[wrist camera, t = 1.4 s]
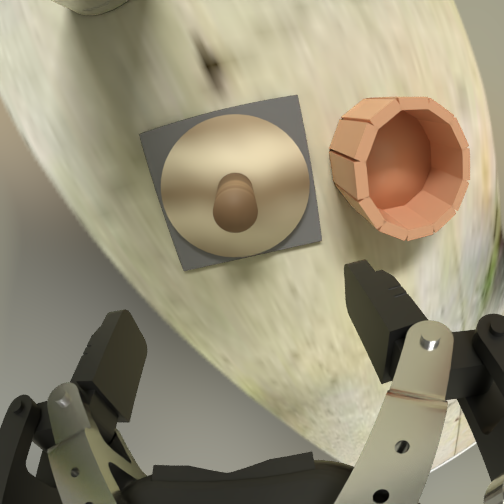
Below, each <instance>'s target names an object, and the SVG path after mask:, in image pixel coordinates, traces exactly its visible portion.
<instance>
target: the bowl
mask: <svg viewBox="0 0 504 504" xmlns="http://www.w3.org/2000/svg"><path fill="white" fill-rule="evenodd" d="M342 118H343V120H341V119H340V120H339V123H338V125H337V128H336V131H335V134H334V136H333V139H332V142H331V145H330V147H329V148H330V149H333V150H334V151H329V155H330V161H331V168H332V175H333V181H334V182H335V185H336V187H337V188H338V189H339V190H340V192H341V193H342V194H343V196H344V197H345V198H346V200H347V201H348V202H349V204H350V205H351V206H352V207H353V208H354V209H355V210H356V211H357V212H359V213H360V214H361V215H362V216H363V217H364V218H365V219H366V220H367V221H368V222H369V223H371V224H372V225H373V226H374V227H375V228H376V229H377V230H378V231H380V232H382V233H385V234H388V235H390V236H393V237H396V238H398V239H401V240H404V241H405V239H406V240H407V241H410V240H414V239H418V238H421V237H425V236H429V235H433V231H434V232H435V233H436V232H437V231H438V230H439V229H440V228H442V227H443V226H444V225H445V224H446V223H447V222H448V221H449V220H450V219H451V218H452V217H453V216H454V215H455V214H456V212H455V210H457V211H458V209H459V207H460V205H461V202H462V200H463V197H464V195H465V192H466V190H467V187H468V185H469V183H468V182H467V181H466V180H470V149H469V148H467V147H468V146H469V145H468V142H467V140H466V138H465V136H464V133H463V131H462V129H461V127H460V125H459V123H458V121H457V119H456V118H454V115H453V114H452V113H450V112H449V111H448V110H446V109H445V108H444V107H442V106H441V105H440V104H438V103H437V102H435V101H434V100H433V99H431V98H428V97H379V98H366V99H363V100H362V101H361V102H359V103H358V104H357V105H356V106H354V107H353V108H352V109H351V110H349V111H348V112H347V113H346V114H344V115H343V116H342ZM454 209H455V210H454Z"/></svg>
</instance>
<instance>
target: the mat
mask: <svg viewBox="0 0 504 504" xmlns="http://www.w3.org/2000/svg"><path fill="white" fill-rule="evenodd" d="M230 114H241V115H250V116H254V117H258V118H261V119H263V120H266V121H268V122H270V123H272V124H274V125H276V126H277V127H279V128H280V129H281V130H283V131H284V132H285V133H286V134H287V135H288V136H289V137H290V138H291V139H292V140H293V141H294V142H295V144H296V145H297V146H298V148H299V149H300V151H301V153H302V155H303V157H304V159H305V162H306V165H307V169H308V173H309V181H310V188H309V197H308V202H307V206H306V209H305V211H304V214H303V216H302V218H301V220H300V221H299V223H298V224H297V226H296V227H295V228H294V230H293V231H292V232H291V233H290V234H289V235H288V236H287V237H286V238H285V239H284V240H283V241H281V242H280V243H279V244H277V245H276V246H274V247H272V248H270V249H268V250H266V251H264V252H261V253H258V254H255V255H260V254H264V253H269V252H273V251H278V250H282V249H287V248H291V247H296V246H300V245H304V244H309V243H313V242H318V241H322V237H321V229H320V221H319V214H318V207H317V200H316V193H315V186H314V180H313V174H312V168H311V162H310V156H309V151H308V145H307V140H306V134H305V129H304V124H303V119H302V114H301V109H300V104H299V100H298V95H293V96H287V97H281V98H275V99H269V100H264V101H259V102H254V103H249V104H244V105H239V106H235V107H231V108H226V109H222V110H218V111H214V112H210V113H206V114H203V115H199V116H195V117H192V118H188V119H185V120H181V121H178V122H175V123H171V124H168V125H165V126H162V127H159V128H156V129H153V130H150V131H147V132H144V133H141V134H139V136H140V140H141V143H142V147H143V150H144V153H145V157H146V160H147V164H148V167H149V170H150V174H151V177H152V180H153V183H154V186H155V190H156V193H157V196H158V199H159V202H160V205H161V208H162V211H163V214H164V217H165V220H166V223H167V226H168V229H169V231H170V234H171V237H172V240H173V243H174V246H175V248H176V251H177V254H178V257H179V259H180V262H181V265H182V267H183V270H184V271H187V270H191V269H196V268H201V267H205V266H210V265H214V264H219V263H223V262H228V261H232V260H237V259H241V258H246V257H251V256H255V255H251V256H245V257H224V256H219V255H214V254H211V253H208V252H206V251H203V250H201V249H199V248H197V247H196V246H194V245H192V244H191V243H190V242H188V241H187V240H186V239H185V238H183V237H182V236H181V235H180V234H179V232H178V231H177V230H176V229H175V227H174V226H173V225H172V223H171V221H170V220H169V218H168V216H167V214H166V211H165V209H164V205H163V201H162V196H161V177H162V171H163V167H164V164H165V161H166V159H167V157H168V155H169V152H170V151H171V149H172V148H173V146H174V145H175V143H176V142H177V141H178V140H179V139H180V138H181V137H182V136H183V135H184V134H185V133H186V132H187V131H188V130H190V129H191V128H193V127H194V126H196V125H197V124H199V123H201V122H203V121H205V120H208V119H211V118H214V117H217V116H222V115H230Z"/></svg>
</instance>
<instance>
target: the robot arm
mask: <svg viewBox="0 0 504 504" xmlns="http://www.w3.org/2000/svg"><path fill="white" fill-rule="evenodd" d="M51 1H53V2H56V3H58V4H60V5H62V6H64V7H66V8H68V9H70V10H72V11H74V12H76V13H78V14H82V15H98V14H103V13H105V12H108V11H111V10H113V9H115V8H117V7H119V6H121V5H122V4H124V3H125V2H127V1H128V0H51ZM344 276H345V297H346V306H347V310H348V314H349V316H350V318H351V320H352V322H353V324H354V326H355V328H356V330H357V332H358V335H359V337H360V339H361V341H362V343H363V345H364V347H365V349H366V351H367V353H368V356H369V358H370V360H371V362H372V364H373V366H374V368H375V371H376V373H377V375H378V377H379V379H380V382H381V384H383V383H386V382H389V381H392V384H391V387H390V390H388V392H387V394H386V396H385V399H384V401H383V404H382V407H381V409H380V412H379V414H378V417H377V419H376V421H375V424H374V426H373V428H372V431H371V433H370V435H369V438H368V440H367V442H366V444H365V446H364V448H363V451H362V453H361V455H360V457H359V459H358V461H357V463H356V465H355V467H353V466H350V465H347V464H344V463H339V462H334V461H325V460H314V459H313V454H312V452H308V453H302V454H297V455H292V456H287V457H281V458H275V459H269V460H267V461H264V462H261V463H258V464H255V465H253V466H250V467H247V468H244V469H241V470H237V471H234V472H231V473H223V472H217V471H212V470H207V469H202V468H197V467H192V466H167V465H166V466H165V465H154V466H153V474H152V475H149V476H147V475H146V474H145V473H144V472H143V471H142V470H141V469H140V467H139V466H138V464H137V463H136V461H135V459H134V458H133V456H132V454H131V452H130V450H129V449H128V447H127V445H126V443H125V442H124V439H123V437H122V436H121V434H120V432H119V431H118V430H117V429H116V424H117V422H129V421H130V418H131V413H132V409H133V405H134V401H135V397H136V393H137V389H138V385H139V381H140V378H141V374H142V370H143V367H144V363H145V359H146V356H147V345H146V341H145V339H144V337H143V335H142V333H141V332H140V330H139V328H138V326H137V324H136V323H135V321H134V319H133V317H132V315H131V314H130V312H129V311H128V310H120V311H114V312H109V313H108V314H107V315H106V317H105V319H104V321H103V323H102V325H101V327H99V328H98V330H97V331H96V332H95V333H94V334H93V335H92V336H91V339H90V341H89V343H88V345H87V347H86V349H85V351H84V353H83V354H84V355H83V356H82V357H81V359H80V361H79V363H78V366H77V368H76V370H75V372H74V374H73V377H72V379H71V381H70V382H66V383H62V384H60V385H58V386H57V387H56V388H55V389H54V390H53V391H52V392H51V393H50V395H49V397H48V401H45V402H42V403H38V404H36V403H35V402H34V401H33V400H32V399H31V398H30V397H29V396H28V395H21V396H19V397H17V398H16V399H14V400H13V402H12V403H11V405H10V406H9V408H8V410H7V413H6V415H5V418H4V420H3V423H2V425H1V428H0V504H420V503H418V502H419V499H420V497H421V494H422V492H423V489H424V487H425V484H426V481H427V479H428V476H429V473H430V470H431V467H432V464H433V461H434V458H435V455H436V451H437V448H438V444H439V441H440V437H441V433H442V429H443V425H444V421H445V417H446V412H447V406H448V402H447V401H445V400H450V399H457V400H458V402H459V404H460V406H461V409H462V411H463V413H464V415H465V417H466V419H467V422H468V424H469V426H470V428H471V431H472V433H473V435H474V438H475V440H476V442H477V445H478V447H479V450H480V452H481V455H482V457H483V460H484V462H485V465H486V468H487V470H488V473H489V476H490V479H491V484H490V485H489V486H488V488H487V490H486V493H485V496H484V504H504V316H502V315H499V314H488V315H485V316H483V317H482V318H481V319H480V320H479V322H478V324H477V327H476V330H468V331H460V332H451V331H450V329H449V328H448V327H447V326H445V325H444V324H442V323H440V322H437V321H431V320H428V319H427V318H426V317H425V315H424V314H423V313H422V311H421V310H420V309H419V307H418V306H417V305H416V304H415V302H414V301H413V300H412V298H411V297H410V296H409V295H408V294H407V293H406V291H405V290H404V288H403V287H401V285H400V283H399V282H398V281H397V280H396V279H395V277H394V276H392V275H391V274H389V273H387V272H385V271H383V270H379V271H376V272H375V271H374V269H373V268H372V267H371V266H370V264H369V263H368V262H367V261H366V260H361V261H357V262H353V263H349V264H345V266H344ZM32 441H33V442H34V443H35V444H36V445H38V446H39V447H40V448H41V449H42V450H43V451H42V455H41V458H40V462H39V466H38V470H37V474H36V477H34V476H33V475H31V474H30V473H29V472H28V470H27V468H26V459H27V455H28V452H29V449H30V446H31V442H32Z"/></svg>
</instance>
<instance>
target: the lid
mask: <svg viewBox="0 0 504 504" xmlns="http://www.w3.org/2000/svg"><path fill="white" fill-rule="evenodd" d="M309 188H310V181H309V173H308V169H307V165H306V162H305V159H304V157H303V155H302V153H301V151H300V149H299V148H298V146H297V145H296V144H295V142H294V141H293V140H292V139H291V138H290V137H289V136H288V135H287V134H286V133H285V132H284V131H283V130H281V129H280V128H279V127H277V126H276V125H274V124H272V123H270V122H268V121H266V120H263V119H261V118H258V117H254V116H250V115H241V114H230V115H222V116H217V117H214V118H211V119H208V120H205V121H203V122H201V123H199V124H197V125H196V126H194V127H193V128H191V129H190V130H188V131H187V132H186V133H185V134H184V135H183V136H182V137H181V138H180V139H179V140H178V141H177V142H176V143H175V145H174V146H173V148H172V149H171V151H170V152H169V155H168V157H167V159H166V161H165V164H164V167H163V171H162V177H161V196H162V201H163V205H164V209H165V211H166V214H167V216H168V218H169V220H170V221H171V223H172V225H173V226H174V227H175V229H176V230H177V231H178V232H179V234H180V235H181V236H182V237H183V238H185V239H186V240H187V241H188V242H190V243H191V244H192V245H194V246H196V247H197V248H199V249H201V250H203V251H206V252H208V253H211V254H214V255H219V256H224V257H245V256H251V255H255V254H258V253H261V252H264V251H266V250H268V249H270V248H272V247H274V246H276V245H277V244H279V243H280V242H281V241H283V240H284V239H285V238H286V237H287V236H288V235H289V234H290V233H291V232H292V231H293V230H294V228H295V227H296V226H297V224H298V223H299V221H300V220H301V218H302V216H303V214H304V211H305V209H306V206H307V202H308V197H309Z"/></svg>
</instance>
